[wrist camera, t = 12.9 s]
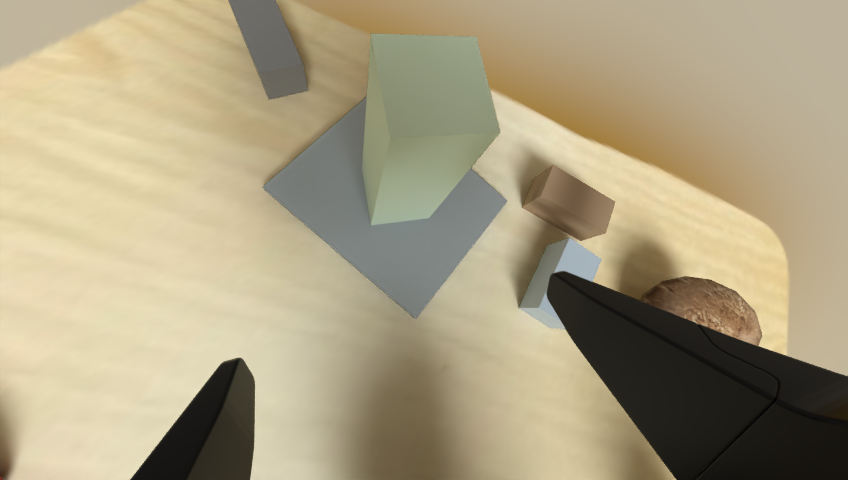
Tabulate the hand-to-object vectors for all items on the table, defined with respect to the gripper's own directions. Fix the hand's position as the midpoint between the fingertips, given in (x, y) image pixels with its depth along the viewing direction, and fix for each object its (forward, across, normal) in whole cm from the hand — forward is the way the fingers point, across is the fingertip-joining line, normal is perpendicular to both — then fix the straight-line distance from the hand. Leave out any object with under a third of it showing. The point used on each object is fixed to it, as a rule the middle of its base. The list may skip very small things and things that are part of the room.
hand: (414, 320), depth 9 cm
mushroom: (+6, -22, +15) cm, 28 cm away
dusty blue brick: (+10, -13, +11) cm, 20 cm away
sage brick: (+15, -3, +3) cm, 16 cm away
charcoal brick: (+24, +4, -6) cm, 25 cm away
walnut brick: (+14, -16, +7) cm, 22 cm away
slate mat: (+16, -3, +4) cm, 16 cm away
